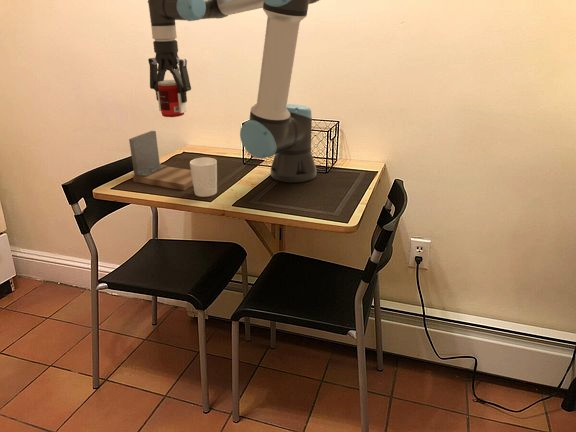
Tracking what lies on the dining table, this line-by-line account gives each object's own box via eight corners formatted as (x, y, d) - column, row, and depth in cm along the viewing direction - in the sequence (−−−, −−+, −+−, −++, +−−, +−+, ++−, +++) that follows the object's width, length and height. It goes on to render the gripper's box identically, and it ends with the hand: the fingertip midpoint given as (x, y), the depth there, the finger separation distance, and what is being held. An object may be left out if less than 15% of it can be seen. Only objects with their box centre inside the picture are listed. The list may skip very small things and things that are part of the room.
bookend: (167, 166, 167) (163, 132, 162) (145, 177, 158) (140, 140, 153) (156, 165, 169) (151, 130, 164) (134, 175, 160) (129, 139, 155)
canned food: (187, 112, 171) (184, 79, 167) (180, 117, 164) (177, 83, 159) (166, 112, 172) (162, 79, 167) (158, 117, 165) (154, 83, 160)
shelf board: (206, 178, 162) (205, 172, 162) (184, 190, 153) (184, 184, 152) (157, 170, 170) (156, 164, 169) (133, 181, 160) (132, 175, 160)
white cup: (198, 199, 146) (195, 167, 142) (188, 191, 152) (185, 160, 148) (223, 194, 150) (221, 162, 145) (212, 186, 156) (210, 155, 152)
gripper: (198, 39, 157) (204, 111, 166) (147, 38, 165) (155, 106, 175) (184, 41, 151) (191, 116, 160) (131, 40, 159) (141, 111, 168)
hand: (172, 111), depth 167 cm, fingers closed on canned food, 8 cm apart
